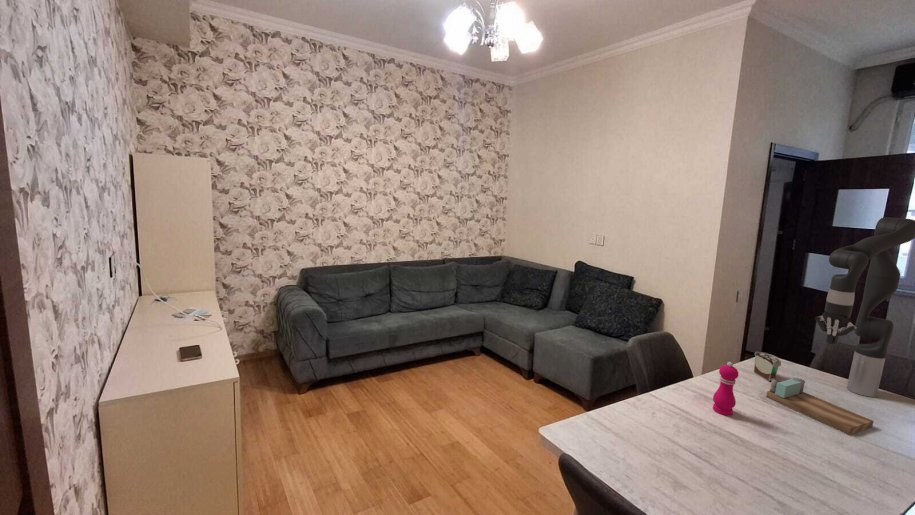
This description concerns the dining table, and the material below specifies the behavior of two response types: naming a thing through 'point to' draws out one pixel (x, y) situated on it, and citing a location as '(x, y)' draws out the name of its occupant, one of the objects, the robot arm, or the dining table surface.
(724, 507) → the dining table surface
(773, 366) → the food container
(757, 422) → the dining table surface
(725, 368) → the pepper mill
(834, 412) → the board
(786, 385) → the hinged leg
